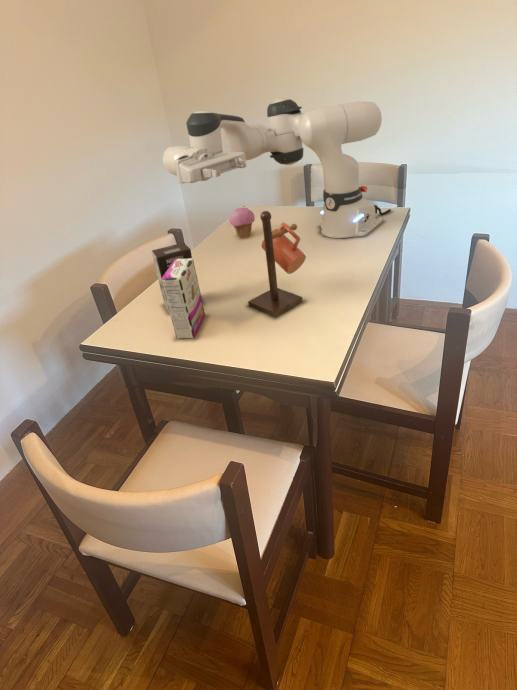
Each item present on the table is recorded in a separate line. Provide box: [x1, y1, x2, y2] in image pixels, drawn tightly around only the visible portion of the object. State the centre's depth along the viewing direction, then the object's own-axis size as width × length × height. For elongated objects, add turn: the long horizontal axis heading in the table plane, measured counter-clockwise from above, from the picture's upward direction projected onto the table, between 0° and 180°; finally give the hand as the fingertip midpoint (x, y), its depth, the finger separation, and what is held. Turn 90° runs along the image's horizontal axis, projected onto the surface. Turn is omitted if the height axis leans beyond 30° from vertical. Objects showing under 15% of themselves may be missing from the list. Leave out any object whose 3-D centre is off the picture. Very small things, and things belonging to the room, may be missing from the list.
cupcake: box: [228, 206, 256, 239], centre depth 168 cm, size 9×9×10 cm
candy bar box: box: [161, 257, 207, 340], centre depth 117 cm, size 11×5×16 cm, turn 171°
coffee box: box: [151, 242, 193, 314], centre depth 128 cm, size 9×6×16 cm
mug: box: [261, 222, 307, 275], centre depth 122 cm, size 10×6×10 cm
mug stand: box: [247, 210, 303, 318], centre depth 121 cm, size 15×10×25 cm
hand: (231, 168), depth 131 cm, fingers open, 8 cm apart
